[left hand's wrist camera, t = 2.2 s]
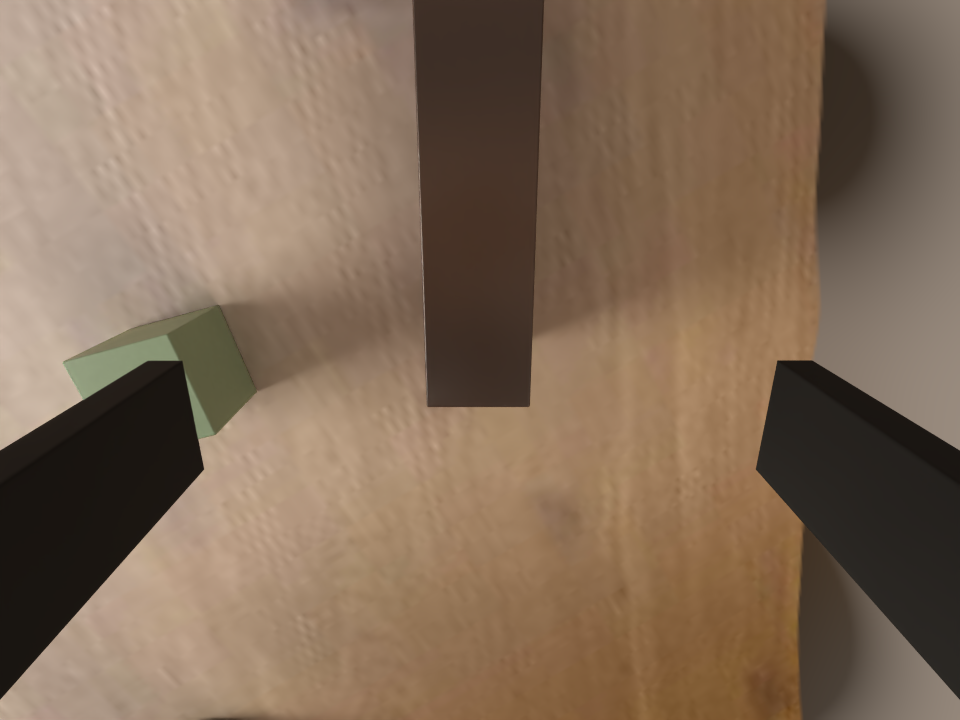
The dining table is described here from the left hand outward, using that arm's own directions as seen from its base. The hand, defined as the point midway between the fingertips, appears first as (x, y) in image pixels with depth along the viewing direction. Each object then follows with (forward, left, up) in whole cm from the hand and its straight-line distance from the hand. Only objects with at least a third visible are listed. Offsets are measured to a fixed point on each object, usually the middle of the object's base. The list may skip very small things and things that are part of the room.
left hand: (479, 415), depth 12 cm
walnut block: (+8, 0, -16) cm, 18 cm away
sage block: (-5, +15, -16) cm, 23 cm away
